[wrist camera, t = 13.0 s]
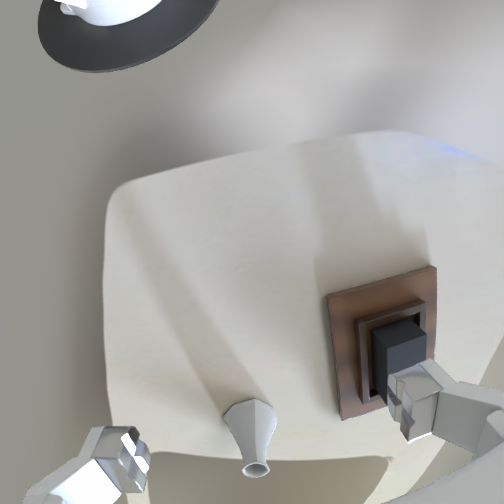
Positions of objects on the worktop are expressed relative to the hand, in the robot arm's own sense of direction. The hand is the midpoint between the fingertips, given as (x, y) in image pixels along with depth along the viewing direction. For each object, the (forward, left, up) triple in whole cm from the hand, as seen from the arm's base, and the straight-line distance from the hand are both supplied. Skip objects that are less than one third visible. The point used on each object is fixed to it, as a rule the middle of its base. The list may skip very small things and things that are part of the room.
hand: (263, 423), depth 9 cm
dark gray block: (+18, +16, -26) cm, 35 cm away
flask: (+24, -4, -27) cm, 36 cm away
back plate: (+18, +16, -27) cm, 36 cm away
